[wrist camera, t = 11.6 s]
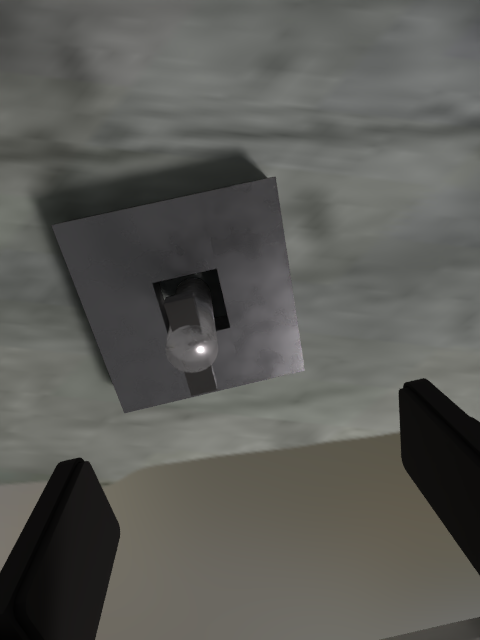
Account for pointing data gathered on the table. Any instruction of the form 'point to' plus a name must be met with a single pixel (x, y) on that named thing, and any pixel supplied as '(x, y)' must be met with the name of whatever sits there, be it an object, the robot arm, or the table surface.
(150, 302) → the block
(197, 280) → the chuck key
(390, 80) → the table surface
